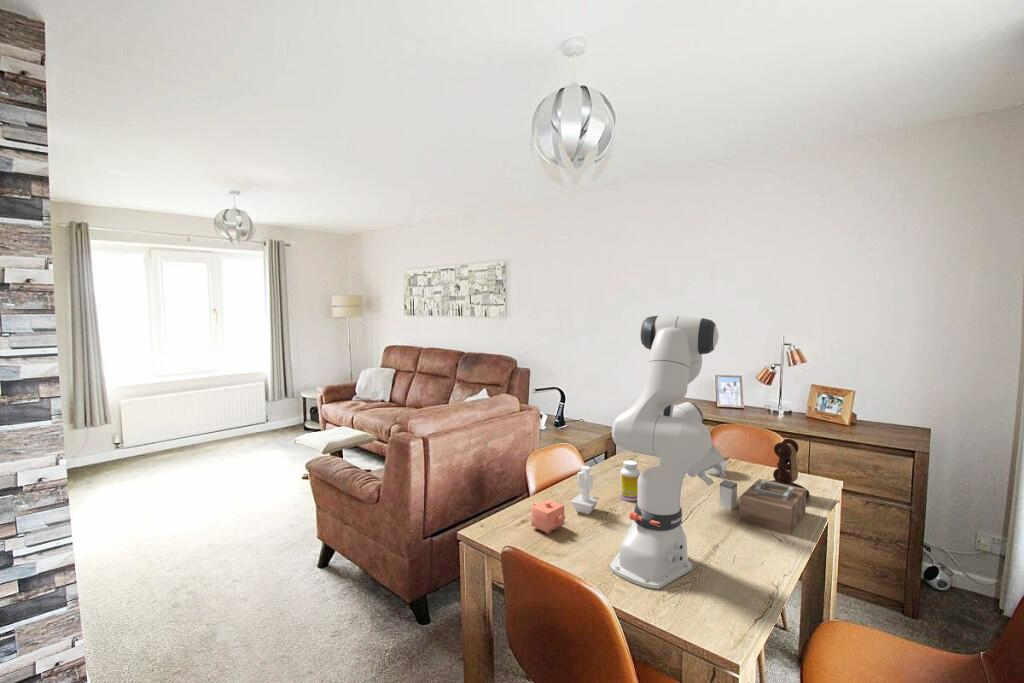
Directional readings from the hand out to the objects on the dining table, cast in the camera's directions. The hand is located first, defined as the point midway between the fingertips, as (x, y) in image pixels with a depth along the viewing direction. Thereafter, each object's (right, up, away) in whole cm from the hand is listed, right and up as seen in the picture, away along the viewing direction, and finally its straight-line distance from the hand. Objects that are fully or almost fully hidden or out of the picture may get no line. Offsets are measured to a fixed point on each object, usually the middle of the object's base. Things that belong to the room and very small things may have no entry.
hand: (717, 480), depth 160 cm
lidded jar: (+11, -6, +29) cm, 32 cm away
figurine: (-46, -9, -4) cm, 47 cm away
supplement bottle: (-29, -8, +5) cm, 30 cm away
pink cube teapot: (-59, -10, -17) cm, 62 cm away
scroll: (+26, -7, +6) cm, 28 cm away
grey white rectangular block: (+2, -8, -2) cm, 9 cm away
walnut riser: (+13, -8, -11) cm, 19 cm away
